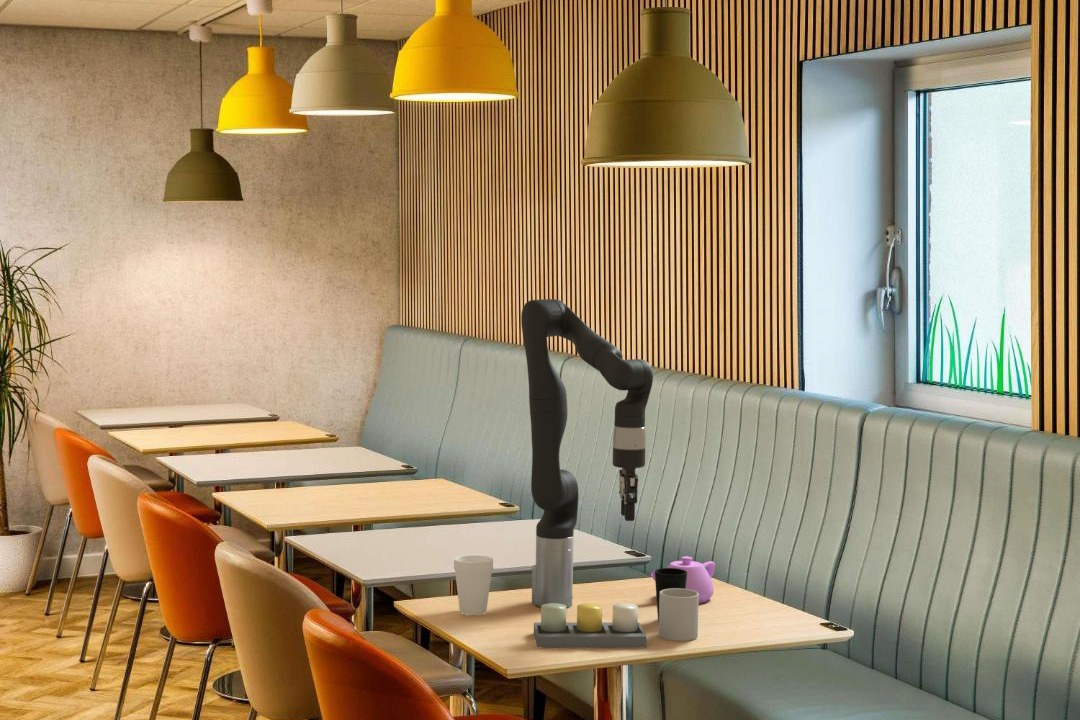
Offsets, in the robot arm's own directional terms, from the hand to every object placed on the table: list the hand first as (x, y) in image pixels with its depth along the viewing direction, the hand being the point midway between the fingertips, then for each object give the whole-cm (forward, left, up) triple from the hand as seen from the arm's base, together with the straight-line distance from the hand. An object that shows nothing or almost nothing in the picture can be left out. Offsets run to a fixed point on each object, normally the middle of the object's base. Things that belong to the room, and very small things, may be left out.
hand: (627, 517), depth 316 cm
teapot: (+1, +33, -26) cm, 42 cm away
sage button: (-9, -19, -23) cm, 31 cm away
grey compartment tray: (-2, -15, -26) cm, 30 cm away
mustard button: (-2, -15, -23) cm, 27 cm away
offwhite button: (+5, -11, -23) cm, 26 cm away
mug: (+14, 0, -26) cm, 29 cm away
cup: (+7, +10, -26) cm, 29 cm away
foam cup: (-37, -7, -26) cm, 46 cm away
